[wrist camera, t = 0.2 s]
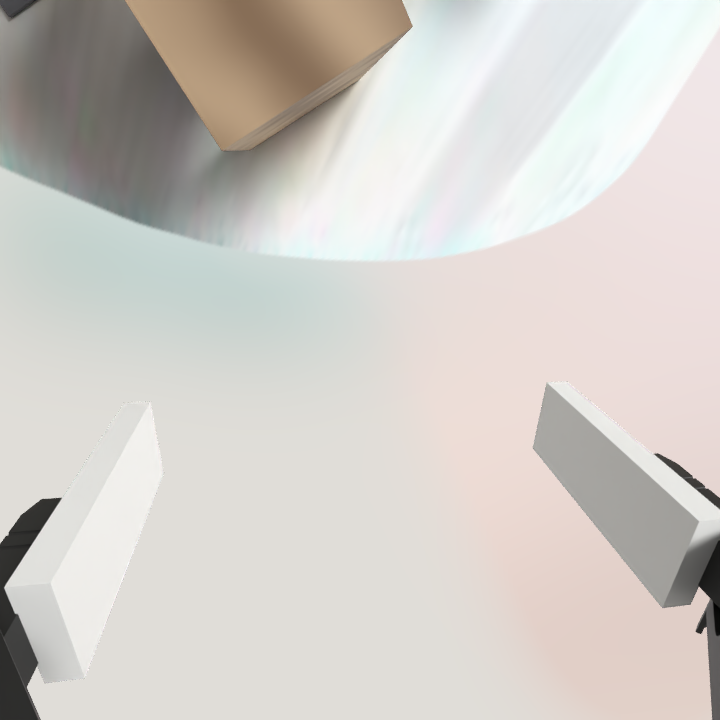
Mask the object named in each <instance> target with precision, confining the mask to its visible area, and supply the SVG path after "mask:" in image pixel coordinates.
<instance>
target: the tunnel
mask: <svg viewBox="0 0 720 720" xmlns="http://www.w3.org/2000/svg"><path fill="white" fill-rule="evenodd" d="M125 2H126V3H127V5H128V6H129V8H130V9H131V11H132V12H133V14H134V15H135V17H136V19H137V20H138V22H139V23H140V25H141V26H142V28H143V29H144V31H145V33H146V34H147V36H148V37H149V39H150V40H151V42H152V43H153V45H154V46H155V48H156V50H157V51H158V53H159V54H160V56H161V57H162V59H163V60H164V62H165V64H166V65H167V67H168V68H169V70H170V71H171V73H172V74H173V76H174V77H175V79H176V81H177V82H178V84H179V85H180V87H181V88H182V90H183V91H184V93H185V95H186V96H187V98H188V99H189V101H190V102H191V104H192V105H193V107H194V108H195V110H196V112H197V113H198V115H199V116H200V118H201V119H202V121H203V122H204V124H205V126H206V127H207V129H208V130H209V132H210V133H211V135H212V136H213V138H214V139H215V141H216V143H217V144H218V146H219V147H220V149H221V150H222V151H236V150H251V149H253V148H254V147H256V146H257V145H259V144H261V143H262V142H264V141H265V140H267V139H268V138H270V137H271V136H273V135H274V134H276V133H278V132H279V131H281V130H282V129H284V128H285V127H287V126H288V125H290V124H291V123H293V122H295V121H296V120H298V119H299V118H301V117H302V116H304V115H305V114H307V113H308V112H310V111H312V110H313V109H315V108H316V107H318V106H319V105H321V104H322V103H324V102H325V101H327V100H329V99H330V98H332V97H333V96H335V95H336V94H338V93H339V92H341V91H342V90H344V89H346V88H347V87H349V86H350V85H352V84H353V83H355V82H356V81H358V80H359V79H360V78H361V77H362V76H363V75H364V74H365V73H366V72H367V71H369V70H370V69H371V68H372V67H373V66H374V65H375V64H376V63H377V62H378V61H379V60H380V59H381V58H382V57H383V56H384V55H385V54H386V53H387V52H388V51H389V50H390V49H391V48H392V47H393V46H394V45H395V44H396V43H397V42H398V41H399V40H400V39H401V38H402V37H403V36H404V35H405V34H406V33H407V32H408V31H409V30H410V29H411V28H412V27H413V26H412V24H411V21H410V19H409V16H408V14H407V12H406V9H405V7H404V4H403V2H402V0H125Z"/></svg>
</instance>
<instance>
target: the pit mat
mask: <svg viewBox="0 0 720 720" xmlns="http://www.w3.org/2000/svg"><path fill="white" fill-rule="evenodd" d="M34 1H35V0H0V5H1V6H2V8H3V9H4V10H5V12H6V13H7V14H8V16H9V17H11V18H12V17H13V16H15V15H16V14H17V13H19V12H20V11H22V10H23V9H24V8H26V7H27V6H28V5H30V4H31V3H33V2H34Z"/></svg>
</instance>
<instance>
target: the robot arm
mask: <svg viewBox="0 0 720 720" xmlns="http://www.w3.org/2000/svg"><path fill="white" fill-rule="evenodd" d="M533 449H534V450H535V451H536V453H537V454H538V455H539V456H540V458H541V459H542V460H543V461H544V463H545V464H546V465H547V466H548V468H549V469H550V470H551V471H552V473H553V474H554V475H555V476H556V477H557V479H558V480H559V481H560V482H561V483H562V485H563V486H564V487H565V488H566V490H567V491H568V492H569V493H570V495H571V496H572V497H573V498H574V500H575V501H576V502H577V503H578V505H579V506H580V507H581V508H582V510H583V511H584V512H585V513H586V514H587V516H588V517H589V518H590V519H591V521H592V522H593V523H594V524H595V525H596V527H597V528H598V529H599V531H600V532H601V533H602V534H603V535H604V537H605V538H606V539H607V540H608V542H609V543H610V544H611V545H612V547H613V548H614V549H615V550H616V551H617V553H618V554H619V555H620V556H621V558H622V559H623V560H624V561H625V562H626V564H627V565H628V566H629V567H630V569H631V570H632V571H633V572H634V574H635V575H636V576H637V577H638V579H639V580H640V581H641V582H642V584H643V585H644V586H645V587H646V588H647V590H648V591H649V592H650V593H651V595H652V596H653V597H654V598H655V600H656V601H657V602H658V603H659V605H660V606H661V607H662V608H666V607H675V606H682V605H690V604H691V602H692V600H693V598H694V595H695V594H696V592H697V589H698V587H700V588H701V589H702V590H703V591H704V592H705V593H706V594H707V595H708V596H709V597H710V598H711V599H710V601H709V603H708V605H707V607H706V609H705V611H704V613H703V615H702V617H701V619H700V621H699V623H698V626H697V629H696V632H697V633H700V634H701V633H702V631H703V629H704V628H705V627H707V634H708V635H707V636H708V652H709V670H710V687H711V703H712V720H720V498H719V497H718V496H716V495H715V494H714V493H713V492H712V491H710V490H709V489H705V486H704V485H703V484H702V483H700V482H699V481H698V480H697V479H693V477H692V475H690V474H689V473H688V472H687V471H686V470H684V469H683V468H682V467H681V466H680V465H678V464H677V463H675V462H673V461H671V460H669V459H667V458H666V457H663V456H662V455H660V454H653V453H652V452H651V451H649V450H648V449H647V448H646V447H645V446H643V445H642V444H641V443H640V442H639V441H637V440H636V439H635V438H634V437H633V436H631V435H630V434H629V433H628V432H627V431H626V430H624V429H623V428H622V427H621V426H620V425H618V424H617V423H616V422H615V421H613V420H612V419H611V418H610V417H609V416H608V415H606V414H605V413H604V412H603V411H602V410H601V409H599V408H598V407H597V406H595V404H593V403H592V402H591V401H590V400H589V399H587V398H586V397H585V396H584V395H583V394H582V393H580V392H579V391H578V390H577V389H576V388H574V387H573V386H572V385H571V384H570V383H568V382H548V383H547V384H546V388H545V393H544V398H543V403H542V407H541V412H540V417H539V422H538V426H537V431H536V436H535V440H534V445H533ZM163 475H164V470H163V465H162V460H161V454H160V449H159V444H158V439H157V433H156V428H155V423H154V418H153V413H152V407H151V403H150V401H149V402H128V403H124V404H123V405H122V407H121V408H120V410H119V411H118V413H117V415H116V416H115V418H114V419H113V421H112V422H111V424H110V425H109V427H108V429H107V430H106V431H105V433H104V435H103V436H102V438H101V439H100V441H99V442H98V444H97V445H96V447H95V448H94V450H93V452H92V453H91V454H90V456H89V458H88V459H87V461H86V462H85V464H84V465H83V467H82V468H81V470H80V472H79V473H78V474H77V476H76V478H75V479H74V481H73V482H72V484H71V485H70V487H69V488H68V490H67V491H66V493H65V494H64V496H63V498H53V499H42V500H40V501H39V502H37V503H36V504H35V505H34V506H32V507H31V508H30V509H28V510H27V511H26V512H25V513H23V514H22V515H21V516H20V518H19V519H18V520H17V522H16V523H15V525H14V526H13V527H12V529H11V530H10V531H9V535H8V536H6V537H5V538H4V540H3V541H2V542H1V544H0V720H41V719H40V717H39V715H38V713H37V710H36V708H35V706H34V703H33V701H32V699H31V696H30V694H29V692H28V690H27V685H28V683H29V681H30V679H31V677H32V675H33V673H34V671H35V669H36V667H37V666H38V669H39V671H40V674H41V676H42V678H43V681H44V683H52V682H60V681H67V680H76V679H85V677H86V674H87V672H88V669H89V667H90V664H91V662H92V659H93V656H94V654H95V651H96V648H97V646H98V643H99V641H100V638H101V636H102V633H103V630H104V628H105V625H106V622H107V620H108V617H109V615H110V612H111V610H112V607H113V605H114V602H115V599H116V597H117V594H118V591H119V589H120V586H121V584H122V581H123V579H124V576H125V573H126V571H127V568H128V566H129V563H130V560H131V558H132V555H133V552H134V550H135V547H136V545H137V542H138V540H139V537H140V535H141V532H142V529H143V527H144V524H145V521H146V519H147V516H148V514H149V511H150V509H151V506H152V503H153V500H154V498H155V496H156V493H157V490H158V488H159V485H160V482H161V480H162V478H163Z"/></svg>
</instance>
